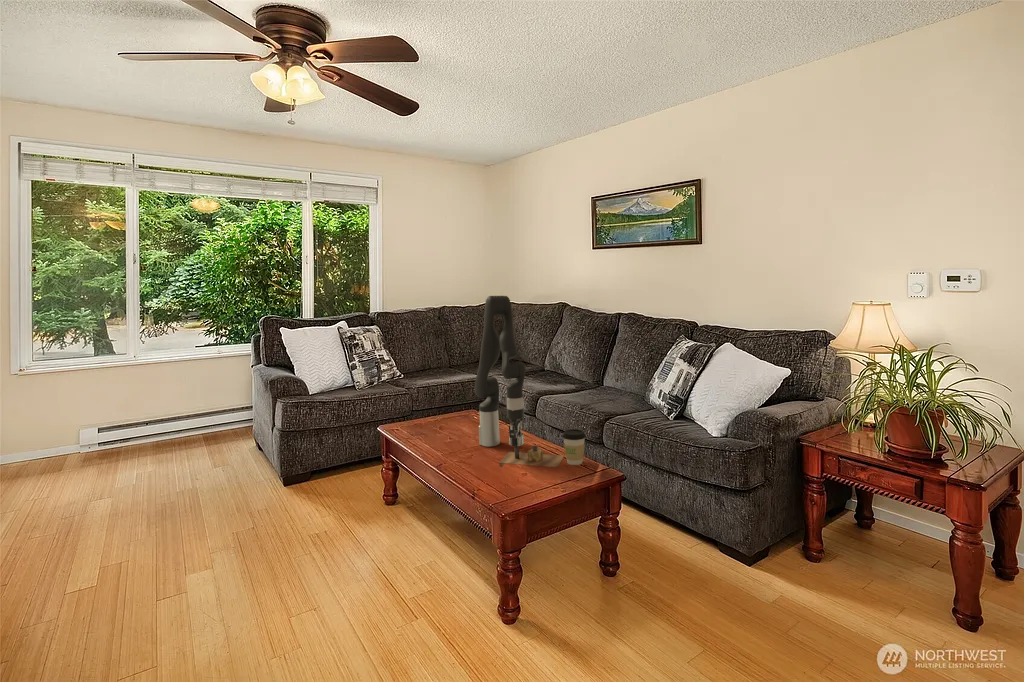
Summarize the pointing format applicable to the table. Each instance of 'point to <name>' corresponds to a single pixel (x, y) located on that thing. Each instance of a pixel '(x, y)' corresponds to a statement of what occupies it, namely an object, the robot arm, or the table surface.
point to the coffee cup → (574, 446)
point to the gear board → (526, 461)
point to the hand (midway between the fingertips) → (516, 443)
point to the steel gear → (518, 439)
